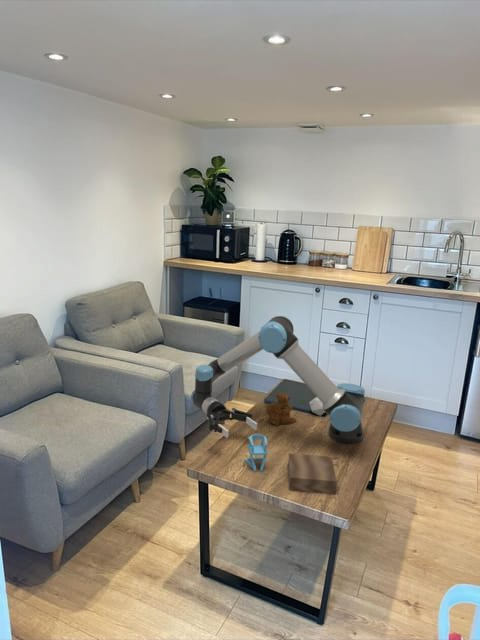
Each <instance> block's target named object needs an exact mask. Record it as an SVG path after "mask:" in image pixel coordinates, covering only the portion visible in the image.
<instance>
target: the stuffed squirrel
mask: <svg viewBox="0 0 480 640" xmlns="http://www.w3.org/2000/svg"><path fill="white" fill-rule="evenodd" d="M275 398H277V402H272V403H268V404H267V405H265V407H264V411H265V413H266V414H267V415H268V417H269V419H268V421H269V422H270V424H272V425H274V426H277V427H278V426H279V425H291V424H293V423H296V422H297V419H296V418H295V417H291V413H290V412H291V411H292V410H293V404H289V402H292V401H293V400H292V399H291V397H290V395H288V394H287V393H285V392H283V393H282V392H281V393H275Z"/></svg>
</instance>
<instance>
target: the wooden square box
mask: <svg viewBox="0 0 480 640" xmlns="http://www.w3.org/2000/svg"><path fill="white" fill-rule="evenodd" d="M287 468H288V469H287V471H288V487H289V491H297V492H305V493H307V492H308V493H309V492H310V493H319V494H331V495H333V494H334V495H336V493H337V484H338V480H337V475H336V470H335V467H334V463H333V458H332V456H328V455H327V456H325V455H313V454H312V455H311V454H302V453H299V454H298V453H288V460H287Z"/></svg>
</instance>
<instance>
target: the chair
mask: <svg viewBox="0 0 480 640" xmlns="http://www.w3.org/2000/svg"><path fill="white" fill-rule="evenodd" d="M255 439H258V440H261V443H259V444H258V443H257V444H254V440H255ZM248 441H249V443H248V444H247V449H248V453H249V457H245V458H244V462H245V463H246V464H247V465H248V466H249V467H250V468H251V469H252V470H253V472H257V465H256V462H255V461H261V464H260V472H263V471H264V466H265V463H266V460H267V459H266V458H267V456H268V454H269V452H268V450H267V447H268V437H266V436H265V435H262V434H261V433H253V434H251V435H250V436H248ZM257 455H258V456H262V455H263V457H253V456H257ZM250 461H251V462H250Z"/></svg>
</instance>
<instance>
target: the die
mask: <svg viewBox="0 0 480 640" xmlns="http://www.w3.org/2000/svg"><path fill="white" fill-rule="evenodd" d="M309 405H310V409H311V412H312V413H313V414H315V415H318V416H320V417H321V416H322V415H324V414H326V412H325V411H324V409H323V403H322V402H321V401H320V400H319V398H318V397H317V396H316V397H314V398H313V399H312V400H311V401H309ZM323 413H324V414H323Z"/></svg>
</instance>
